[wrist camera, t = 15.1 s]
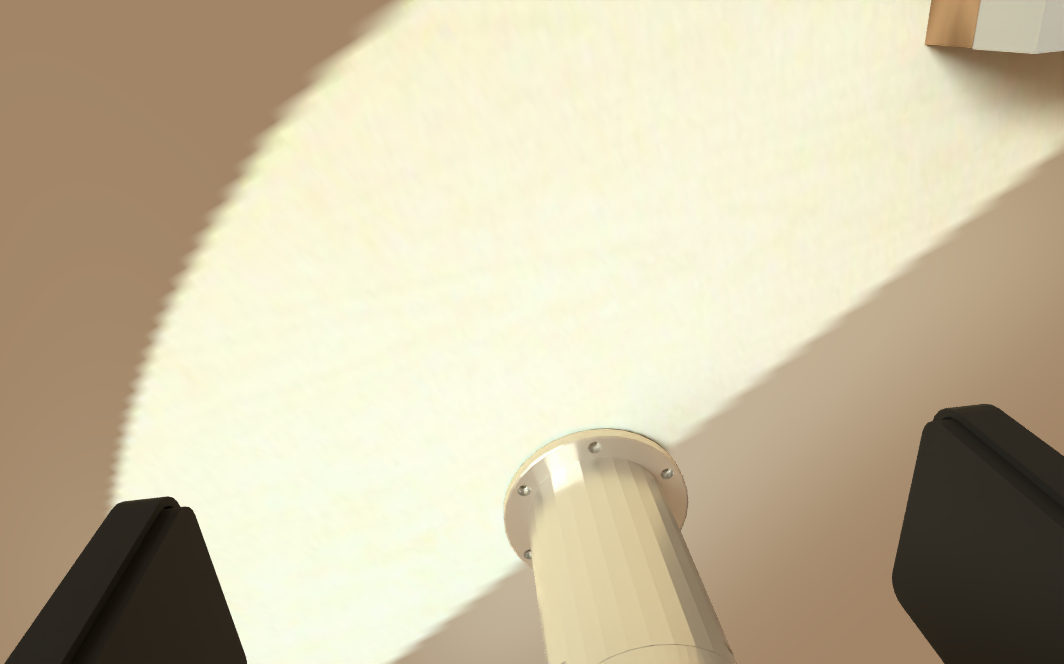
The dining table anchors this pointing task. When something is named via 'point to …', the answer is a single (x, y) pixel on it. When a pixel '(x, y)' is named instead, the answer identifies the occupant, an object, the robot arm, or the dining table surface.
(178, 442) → the dining table surface
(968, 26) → the tower base
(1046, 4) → the tower top
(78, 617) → the robot arm
